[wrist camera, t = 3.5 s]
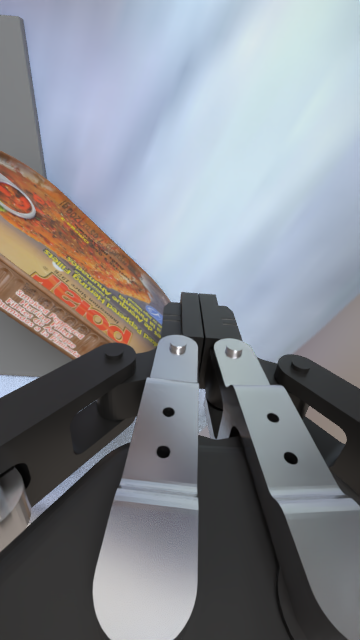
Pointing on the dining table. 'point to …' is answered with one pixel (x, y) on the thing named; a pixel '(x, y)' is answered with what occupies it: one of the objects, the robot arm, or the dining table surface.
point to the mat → (25, 145)
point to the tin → (69, 271)
